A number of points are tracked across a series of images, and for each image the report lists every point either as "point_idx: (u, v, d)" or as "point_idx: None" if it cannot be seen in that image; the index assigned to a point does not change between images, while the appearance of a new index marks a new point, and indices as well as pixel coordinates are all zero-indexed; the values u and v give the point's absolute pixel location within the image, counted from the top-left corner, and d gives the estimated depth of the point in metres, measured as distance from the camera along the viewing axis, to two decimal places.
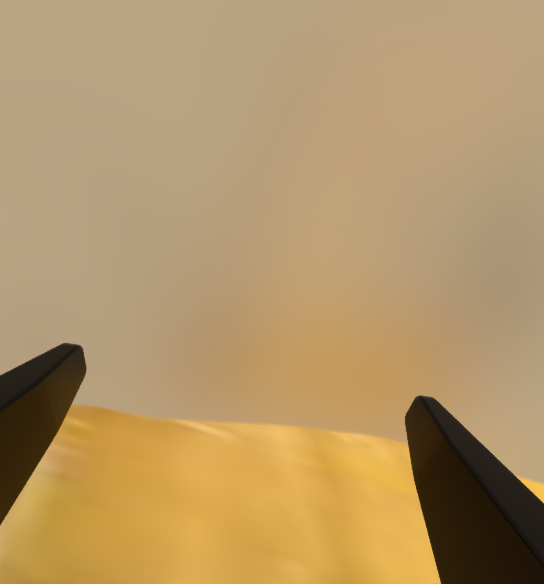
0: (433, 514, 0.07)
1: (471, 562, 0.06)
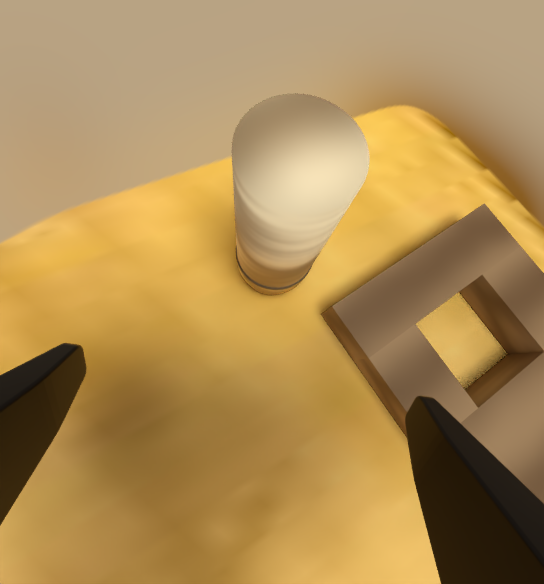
0: (433, 514, 0.07)
1: (471, 562, 0.06)
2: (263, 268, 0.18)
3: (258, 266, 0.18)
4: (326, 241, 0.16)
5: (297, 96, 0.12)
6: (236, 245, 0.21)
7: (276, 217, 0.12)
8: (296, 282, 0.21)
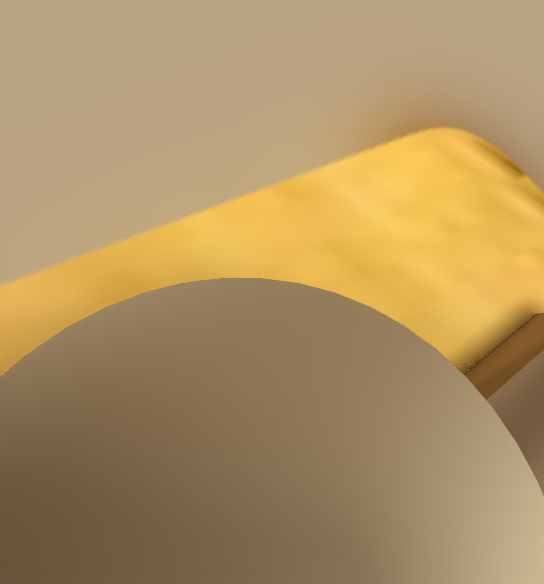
0: None
1: None
2: None
3: None
4: None
5: (229, 294, 0.03)
6: None
7: None
8: None
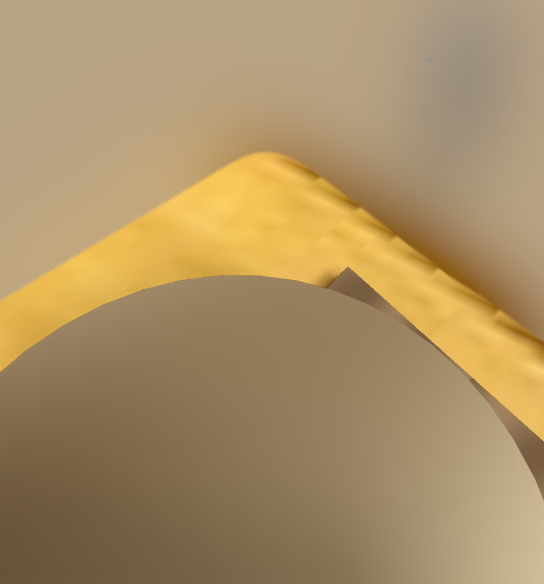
0: None
1: None
2: None
3: None
4: None
5: (228, 290, 0.03)
6: None
7: None
8: None
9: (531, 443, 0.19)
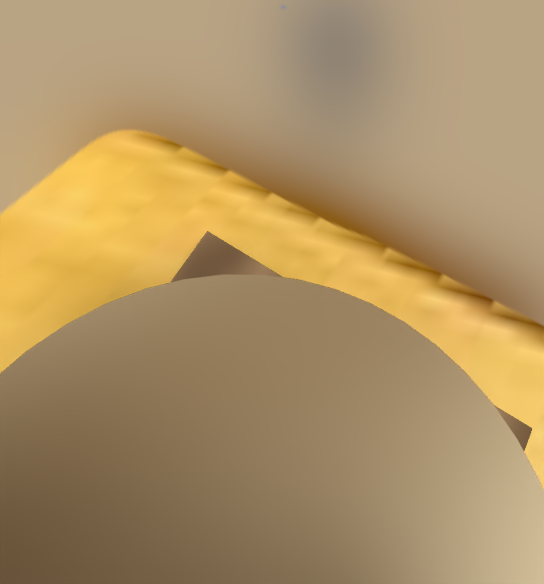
0: None
1: None
2: None
3: None
4: None
5: (230, 289, 0.03)
6: None
7: None
8: None
9: None
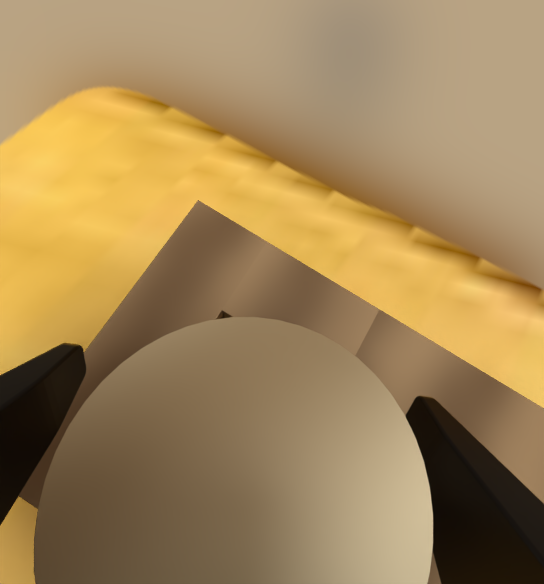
0: (433, 514, 0.07)
1: (471, 562, 0.06)
2: None
3: None
4: None
5: (236, 326, 0.05)
6: None
7: None
8: None
9: (467, 376, 0.15)
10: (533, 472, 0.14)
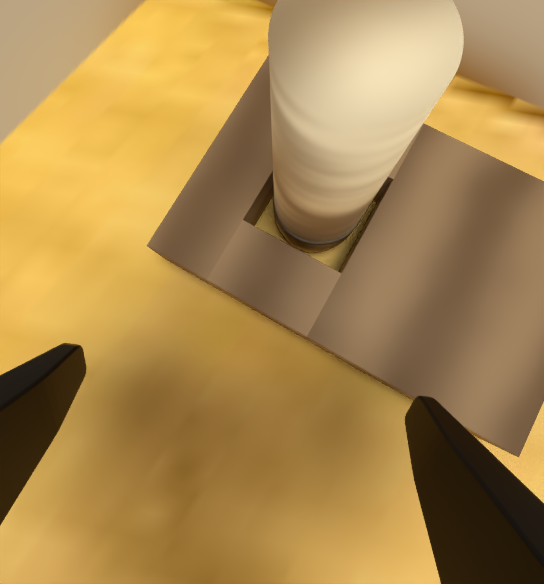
0: (433, 514, 0.07)
1: (471, 562, 0.06)
2: (309, 218, 0.15)
3: (303, 215, 0.15)
4: None
5: None
6: (273, 196, 0.18)
7: (333, 134, 0.09)
8: (346, 234, 0.18)
9: (499, 171, 0.18)
10: None
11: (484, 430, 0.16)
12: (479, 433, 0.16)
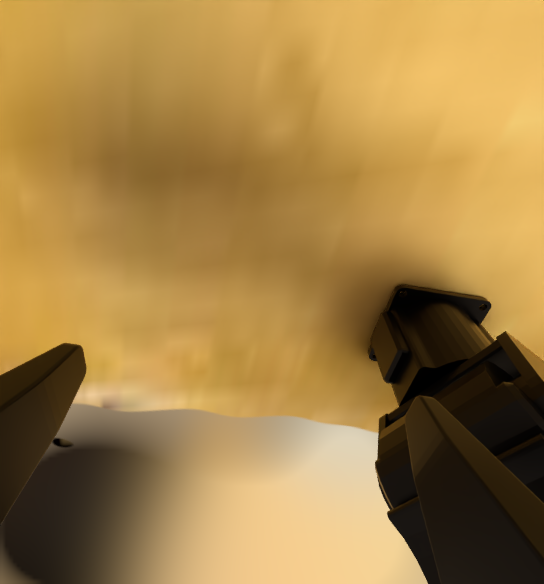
0: (433, 514, 0.07)
1: (471, 562, 0.06)
2: None
3: None
4: None
5: None
6: None
7: None
8: None
9: None
10: None
11: None
12: None
